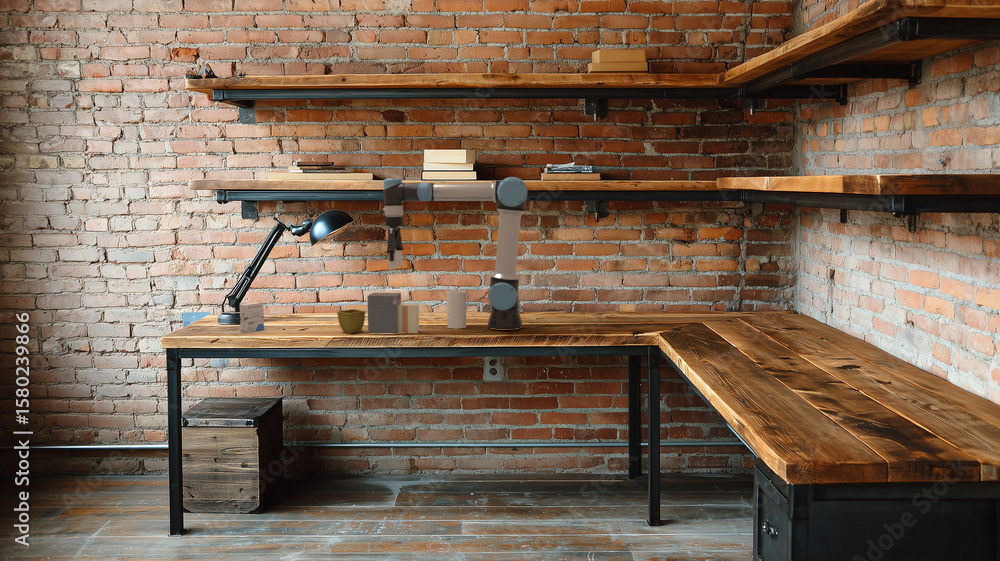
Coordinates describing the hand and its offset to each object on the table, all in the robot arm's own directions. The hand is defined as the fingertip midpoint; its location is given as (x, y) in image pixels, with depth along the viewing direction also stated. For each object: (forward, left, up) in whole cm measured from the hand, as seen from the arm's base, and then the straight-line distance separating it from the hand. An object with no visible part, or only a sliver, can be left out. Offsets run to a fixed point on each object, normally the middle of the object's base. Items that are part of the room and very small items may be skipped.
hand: (395, 267), depth 305 cm
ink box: (+62, -1, -28) cm, 68 cm away
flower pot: (+19, 0, -28) cm, 34 cm away
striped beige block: (-3, -1, -28) cm, 28 cm away
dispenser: (+5, -1, -27) cm, 28 cm away
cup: (-24, -13, -28) cm, 39 cm away
